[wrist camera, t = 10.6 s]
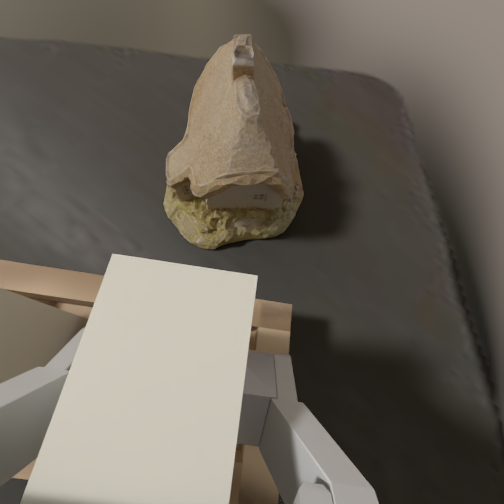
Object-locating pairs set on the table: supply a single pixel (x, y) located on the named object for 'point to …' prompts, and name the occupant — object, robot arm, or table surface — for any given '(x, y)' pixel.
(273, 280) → the table surface
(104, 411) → the white rectangular block
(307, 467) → the robot arm
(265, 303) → the rack
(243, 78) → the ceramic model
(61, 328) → the white upright prism
